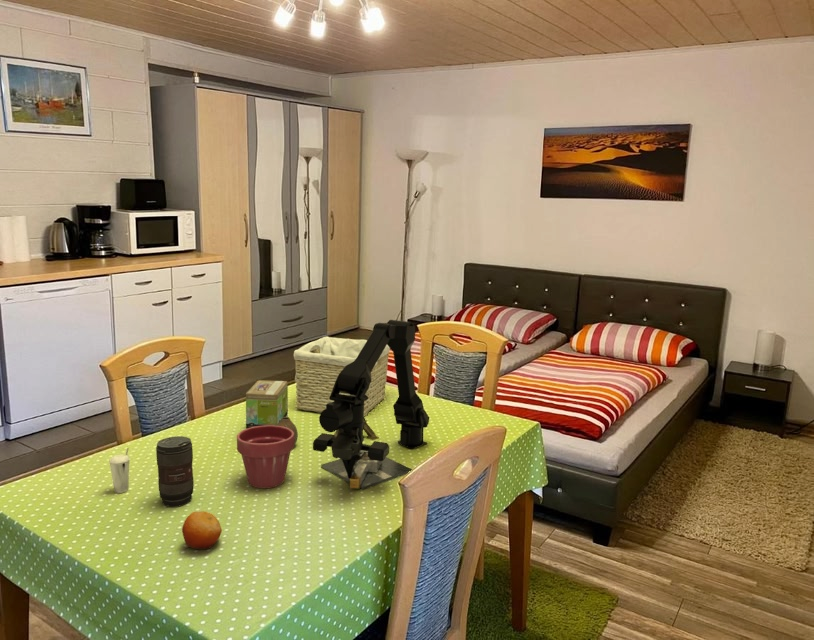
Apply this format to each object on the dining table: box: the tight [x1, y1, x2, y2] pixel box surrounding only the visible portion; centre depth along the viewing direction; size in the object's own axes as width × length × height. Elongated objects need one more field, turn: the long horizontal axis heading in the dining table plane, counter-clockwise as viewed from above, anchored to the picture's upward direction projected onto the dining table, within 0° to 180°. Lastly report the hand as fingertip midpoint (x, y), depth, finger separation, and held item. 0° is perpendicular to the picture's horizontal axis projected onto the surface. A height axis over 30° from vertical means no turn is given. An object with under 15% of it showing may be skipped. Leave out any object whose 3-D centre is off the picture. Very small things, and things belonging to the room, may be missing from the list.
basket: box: [293, 336, 391, 417], centre depth 228 cm, size 27×27×22 cm
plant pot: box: [236, 425, 295, 489], centre depth 167 cm, size 14×14×13 cm
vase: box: [277, 416, 299, 446], centre depth 190 cm, size 7×7×9 cm
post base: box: [320, 453, 413, 491], centre depth 175 cm, size 17×18×6 cm
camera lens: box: [155, 435, 195, 508], centre depth 155 cm, size 8×8×15 cm
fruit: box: [181, 510, 223, 551], centre depth 136 cm, size 8×8×8 cm
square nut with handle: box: [349, 459, 382, 489], centre depth 170 cm, size 17×7×3 cm, turn 171°
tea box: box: [245, 380, 289, 429], centre depth 201 cm, size 15×10×15 cm
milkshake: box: [109, 447, 130, 494], centre depth 160 cm, size 4×5×10 cm
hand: (349, 478), depth 166 cm, fingers closed
